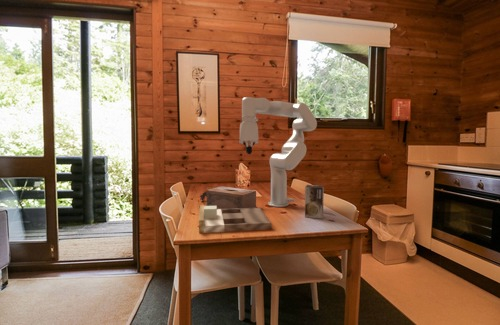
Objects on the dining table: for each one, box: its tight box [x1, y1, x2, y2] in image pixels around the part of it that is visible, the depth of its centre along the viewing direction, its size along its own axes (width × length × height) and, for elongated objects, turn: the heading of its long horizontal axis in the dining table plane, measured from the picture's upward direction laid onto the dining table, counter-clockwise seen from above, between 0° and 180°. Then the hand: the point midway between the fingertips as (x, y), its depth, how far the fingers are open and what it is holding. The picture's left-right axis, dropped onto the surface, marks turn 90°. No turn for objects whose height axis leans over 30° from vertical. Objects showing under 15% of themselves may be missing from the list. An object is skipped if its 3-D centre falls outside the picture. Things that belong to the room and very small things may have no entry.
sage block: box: [204, 205, 218, 218], centre depth 135 cm, size 6×6×4 cm
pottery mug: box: [199, 190, 207, 202], centre depth 180 cm, size 12×10×8 cm
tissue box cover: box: [206, 185, 257, 209], centre depth 166 cm, size 26×14×10 cm, turn 58°
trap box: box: [198, 204, 272, 234], centre depth 136 cm, size 32×27×6 cm
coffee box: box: [304, 184, 325, 219], centre depth 145 cm, size 9×6×16 cm
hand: (249, 153), depth 155 cm, fingers closed
